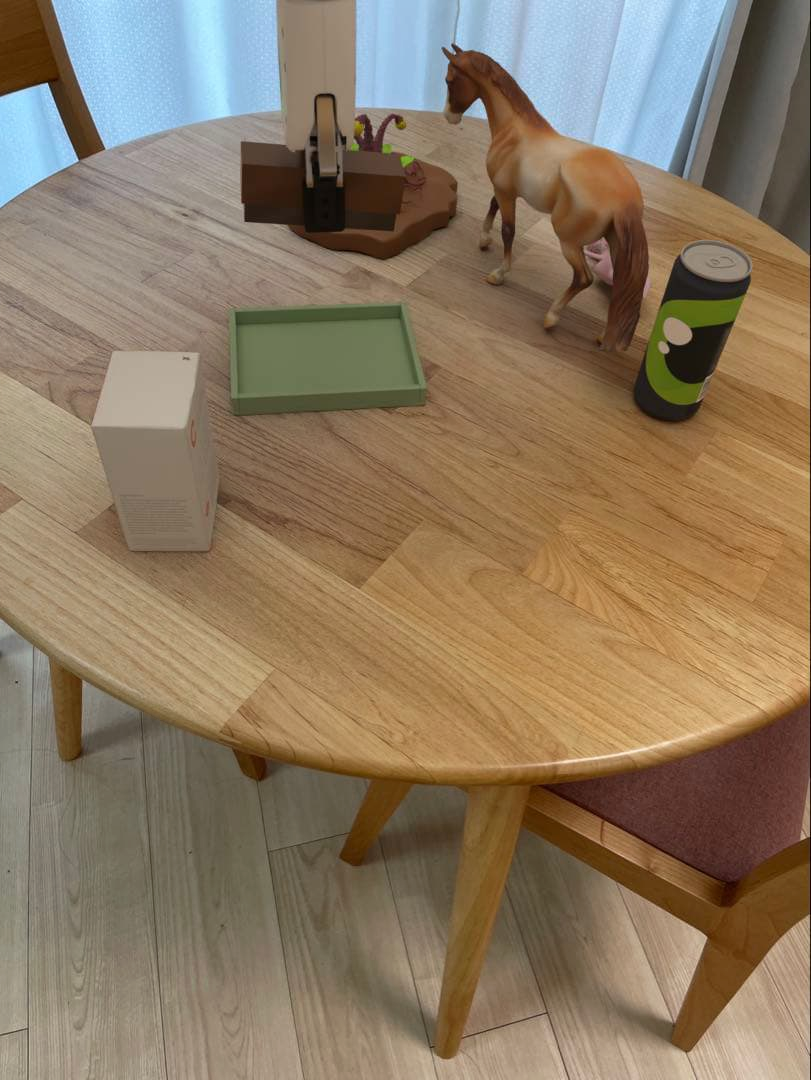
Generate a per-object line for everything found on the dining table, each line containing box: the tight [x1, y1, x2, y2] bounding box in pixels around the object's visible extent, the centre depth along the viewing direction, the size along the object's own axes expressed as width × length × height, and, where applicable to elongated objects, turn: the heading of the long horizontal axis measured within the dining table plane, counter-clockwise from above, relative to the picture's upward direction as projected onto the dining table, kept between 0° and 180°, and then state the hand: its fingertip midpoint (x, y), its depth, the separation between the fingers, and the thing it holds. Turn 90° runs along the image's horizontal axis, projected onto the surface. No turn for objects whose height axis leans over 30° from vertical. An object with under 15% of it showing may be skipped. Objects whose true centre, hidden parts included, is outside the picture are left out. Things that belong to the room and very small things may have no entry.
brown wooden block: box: [239, 140, 406, 231], centre depth 69 cm, size 12×4×5 cm, turn 98°
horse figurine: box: [441, 42, 650, 353], centre depth 83 cm, size 31×8×21 cm, turn 32°
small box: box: [90, 350, 221, 552], centre depth 65 cm, size 8×6×13 cm
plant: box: [288, 113, 459, 260], centre depth 97 cm, size 20×20×11 cm
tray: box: [228, 301, 428, 416], centre depth 82 cm, size 17×13×2 cm
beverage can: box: [633, 239, 754, 421], centre depth 76 cm, size 6×6×15 cm
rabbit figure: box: [583, 237, 652, 299], centre depth 92 cm, size 6×6×15 cm
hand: (322, 213), depth 71 cm, fingers closed on brown wooden block, 3 cm apart
